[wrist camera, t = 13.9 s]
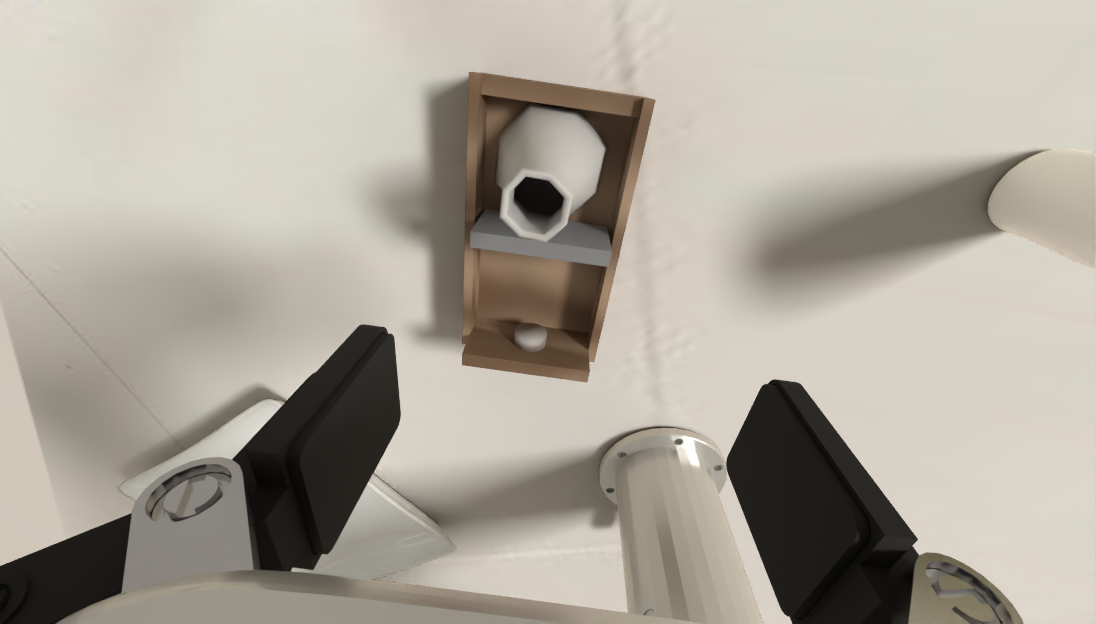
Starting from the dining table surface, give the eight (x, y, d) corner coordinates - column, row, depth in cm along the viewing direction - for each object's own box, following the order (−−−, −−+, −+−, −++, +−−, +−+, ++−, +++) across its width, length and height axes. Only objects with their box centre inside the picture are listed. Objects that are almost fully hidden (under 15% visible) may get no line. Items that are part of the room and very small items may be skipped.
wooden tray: (592, 337, 34) (595, 383, 29) (472, 320, 34) (453, 363, 29) (645, 97, 25) (664, 102, 20) (481, 72, 25) (456, 71, 20)
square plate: (141, 462, 47) (108, 492, 44) (293, 371, 38) (266, 399, 35) (318, 576, 58) (302, 606, 54) (467, 524, 49) (459, 556, 46)
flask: (570, 236, 29) (566, 305, 20) (477, 185, 27) (430, 237, 19) (627, 139, 25) (653, 173, 17) (524, 76, 24) (493, 77, 15)
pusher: (603, 239, 28) (608, 267, 24) (485, 222, 28) (470, 247, 24) (606, 226, 28) (612, 251, 24) (485, 208, 28) (470, 231, 24)
